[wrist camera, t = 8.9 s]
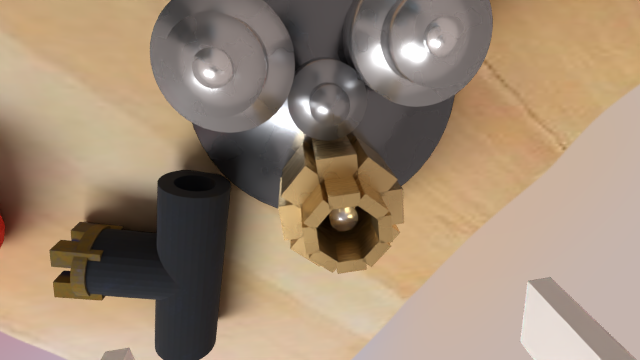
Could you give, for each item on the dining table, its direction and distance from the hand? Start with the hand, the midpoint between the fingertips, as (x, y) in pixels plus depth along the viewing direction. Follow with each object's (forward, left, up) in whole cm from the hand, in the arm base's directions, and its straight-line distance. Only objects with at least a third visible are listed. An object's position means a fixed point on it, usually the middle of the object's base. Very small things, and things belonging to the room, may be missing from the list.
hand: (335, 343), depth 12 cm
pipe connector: (+5, -14, -18) cm, 23 cm away
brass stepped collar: (+1, +2, -17) cm, 17 cm away
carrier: (-6, +2, -18) cm, 19 cm away
